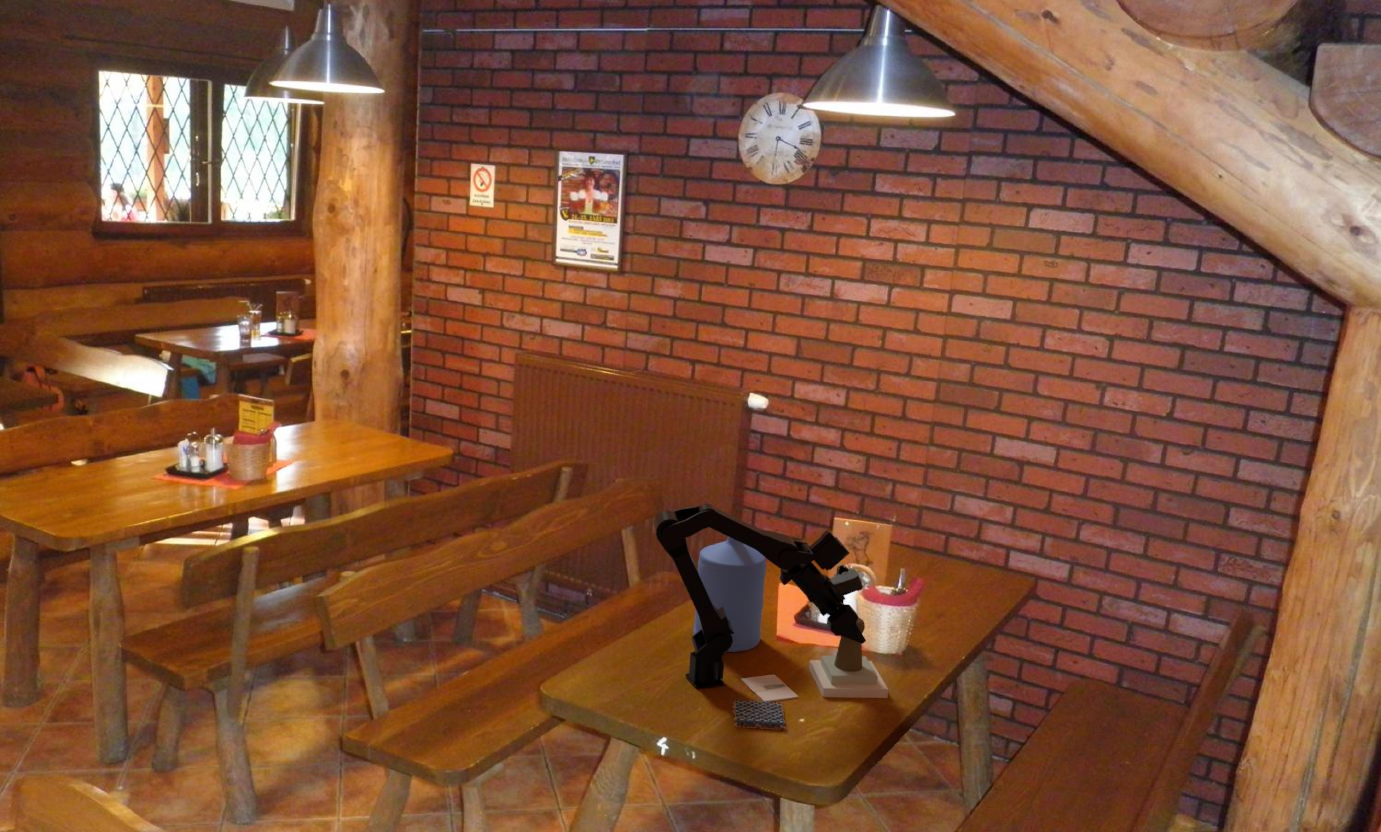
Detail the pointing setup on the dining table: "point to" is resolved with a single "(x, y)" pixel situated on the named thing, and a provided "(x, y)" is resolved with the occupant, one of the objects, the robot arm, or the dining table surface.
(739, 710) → the woven mat
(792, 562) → the robot arm
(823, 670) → the tower base
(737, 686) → the dining table surface
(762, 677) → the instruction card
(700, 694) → the dining table surface
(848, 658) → the brown tapered knobbed post
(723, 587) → the water jug
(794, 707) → the dining table surface
